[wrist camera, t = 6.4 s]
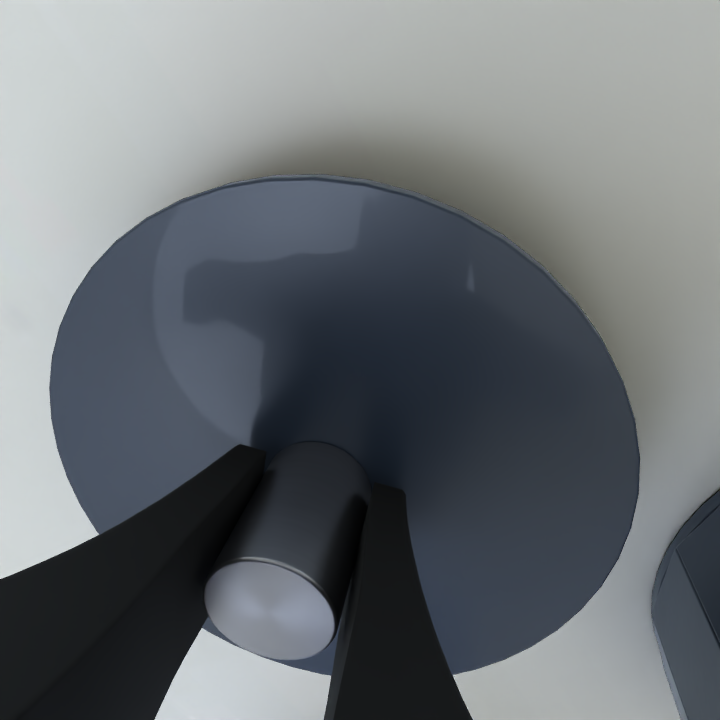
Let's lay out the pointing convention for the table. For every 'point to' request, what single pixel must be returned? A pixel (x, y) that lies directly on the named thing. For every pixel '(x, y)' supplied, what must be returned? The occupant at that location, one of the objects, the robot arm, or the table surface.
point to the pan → (691, 614)
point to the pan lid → (352, 408)
